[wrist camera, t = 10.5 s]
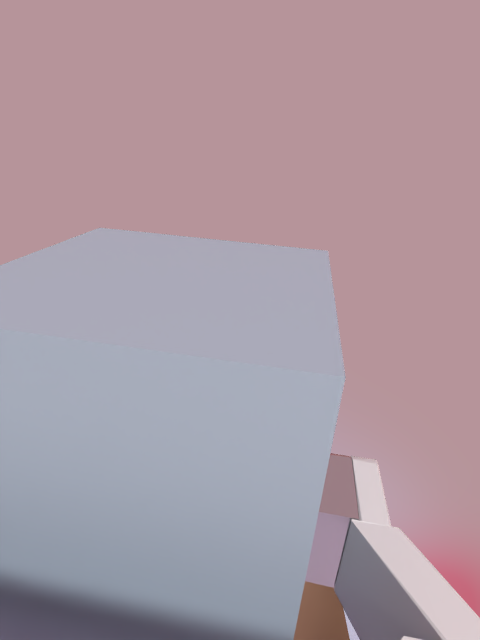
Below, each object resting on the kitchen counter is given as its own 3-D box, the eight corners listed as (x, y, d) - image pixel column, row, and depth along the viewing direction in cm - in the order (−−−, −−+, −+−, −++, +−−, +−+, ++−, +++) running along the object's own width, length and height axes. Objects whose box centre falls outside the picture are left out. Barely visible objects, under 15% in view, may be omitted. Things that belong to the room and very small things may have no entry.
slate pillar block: (21, 750, 8) (-123, 311, 4) (123, 539, 13) (99, 227, 9) (258, 817, 8) (345, 377, 4) (278, 570, 12) (328, 250, 8)
